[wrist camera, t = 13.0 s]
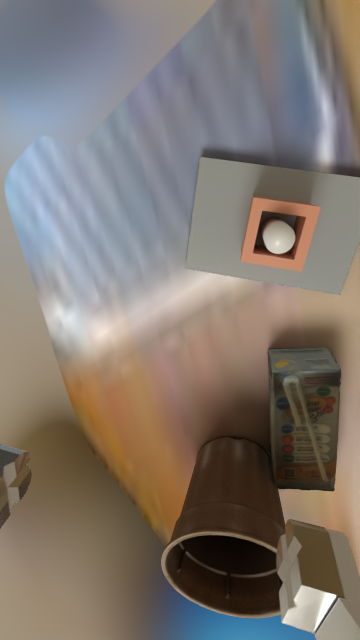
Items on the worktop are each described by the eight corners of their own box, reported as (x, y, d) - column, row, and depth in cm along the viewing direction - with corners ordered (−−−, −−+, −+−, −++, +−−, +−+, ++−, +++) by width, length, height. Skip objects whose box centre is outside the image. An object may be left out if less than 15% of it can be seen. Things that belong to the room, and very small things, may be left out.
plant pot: (241, 513, 54) (241, 634, 40) (166, 464, 53) (136, 570, 38) (309, 465, 47) (338, 590, 33) (224, 407, 46) (215, 510, 31)
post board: (376, 180, 31) (418, 179, 24) (336, 291, 36) (360, 319, 29) (201, 157, 33) (189, 150, 26) (186, 266, 38) (173, 285, 31)
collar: (310, 203, 32) (321, 206, 28) (294, 260, 35) (301, 271, 30) (252, 195, 33) (253, 197, 28) (240, 251, 35) (240, 261, 31)
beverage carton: (331, 344, 39) (347, 372, 33) (325, 457, 46) (338, 497, 40) (266, 346, 41) (270, 374, 35) (270, 455, 48) (274, 493, 42)
